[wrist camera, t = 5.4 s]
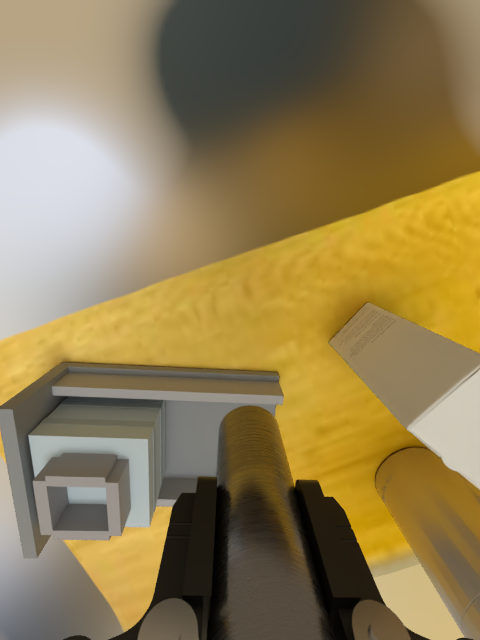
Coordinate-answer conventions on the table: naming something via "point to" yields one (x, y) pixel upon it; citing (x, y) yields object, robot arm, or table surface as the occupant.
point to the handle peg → (261, 540)
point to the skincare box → (419, 382)
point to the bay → (134, 383)
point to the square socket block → (98, 466)
